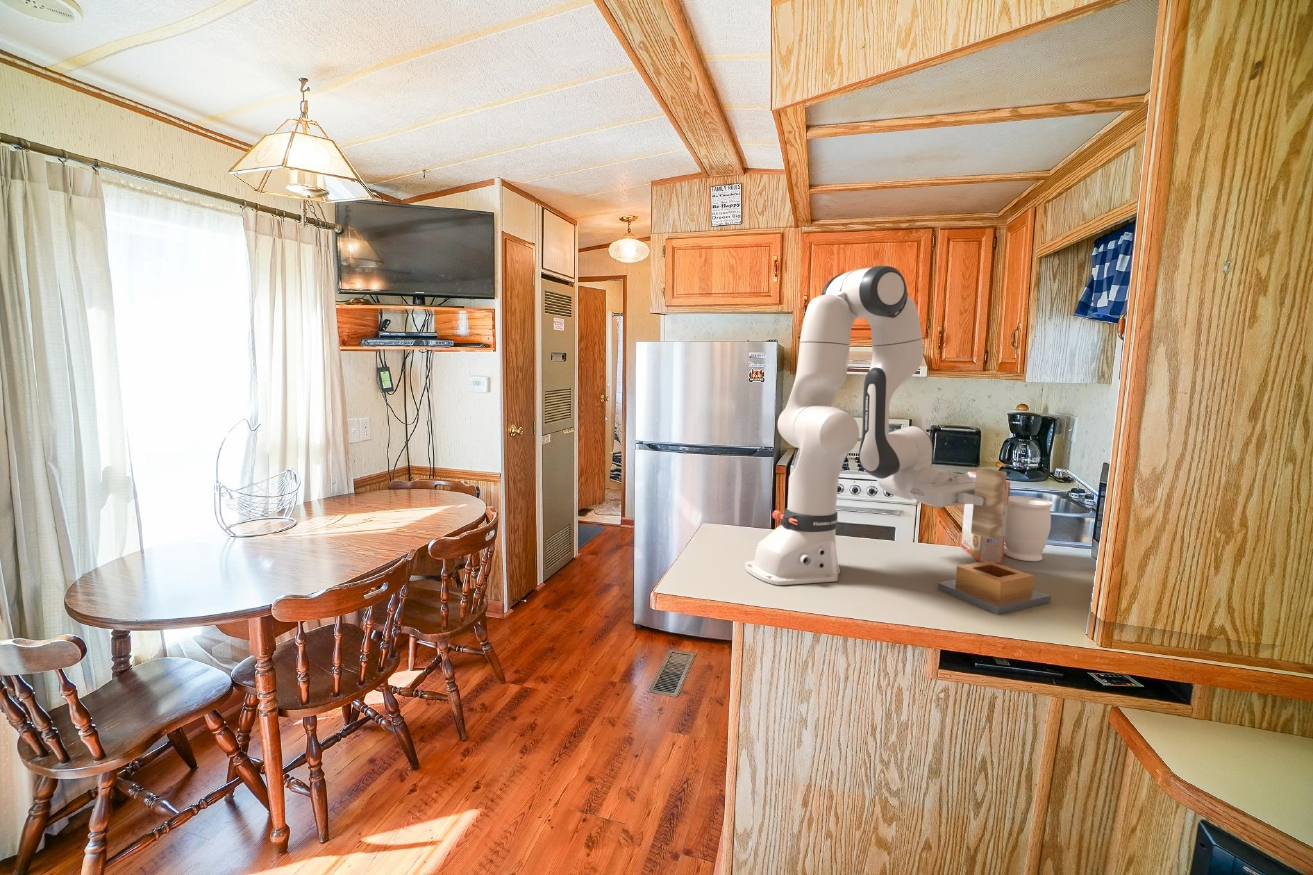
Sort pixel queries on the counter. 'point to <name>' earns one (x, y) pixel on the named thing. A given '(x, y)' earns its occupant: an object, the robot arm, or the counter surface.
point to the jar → (1027, 527)
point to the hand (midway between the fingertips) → (992, 500)
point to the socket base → (994, 587)
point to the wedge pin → (989, 503)
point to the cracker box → (981, 545)
